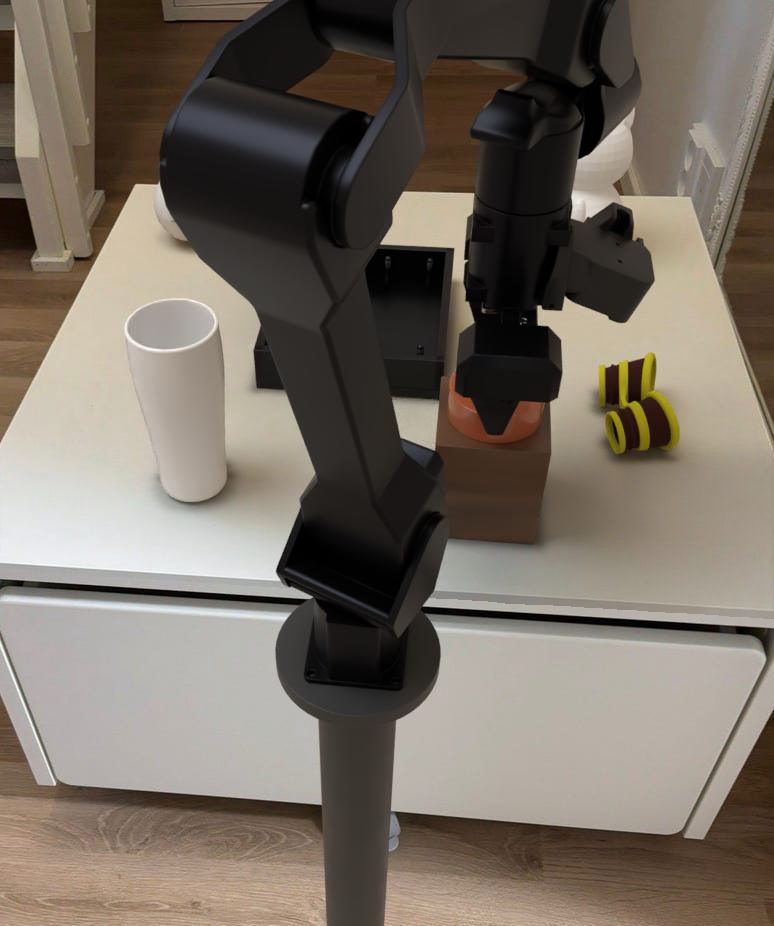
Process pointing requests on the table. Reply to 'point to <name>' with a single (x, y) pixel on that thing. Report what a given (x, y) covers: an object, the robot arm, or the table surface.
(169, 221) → the white ball
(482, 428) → the disc
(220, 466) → the drinking glass
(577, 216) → the cat figurine
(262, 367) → the tray
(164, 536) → the table surface
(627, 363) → the opera glasses
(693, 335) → the table surface
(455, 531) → the block
